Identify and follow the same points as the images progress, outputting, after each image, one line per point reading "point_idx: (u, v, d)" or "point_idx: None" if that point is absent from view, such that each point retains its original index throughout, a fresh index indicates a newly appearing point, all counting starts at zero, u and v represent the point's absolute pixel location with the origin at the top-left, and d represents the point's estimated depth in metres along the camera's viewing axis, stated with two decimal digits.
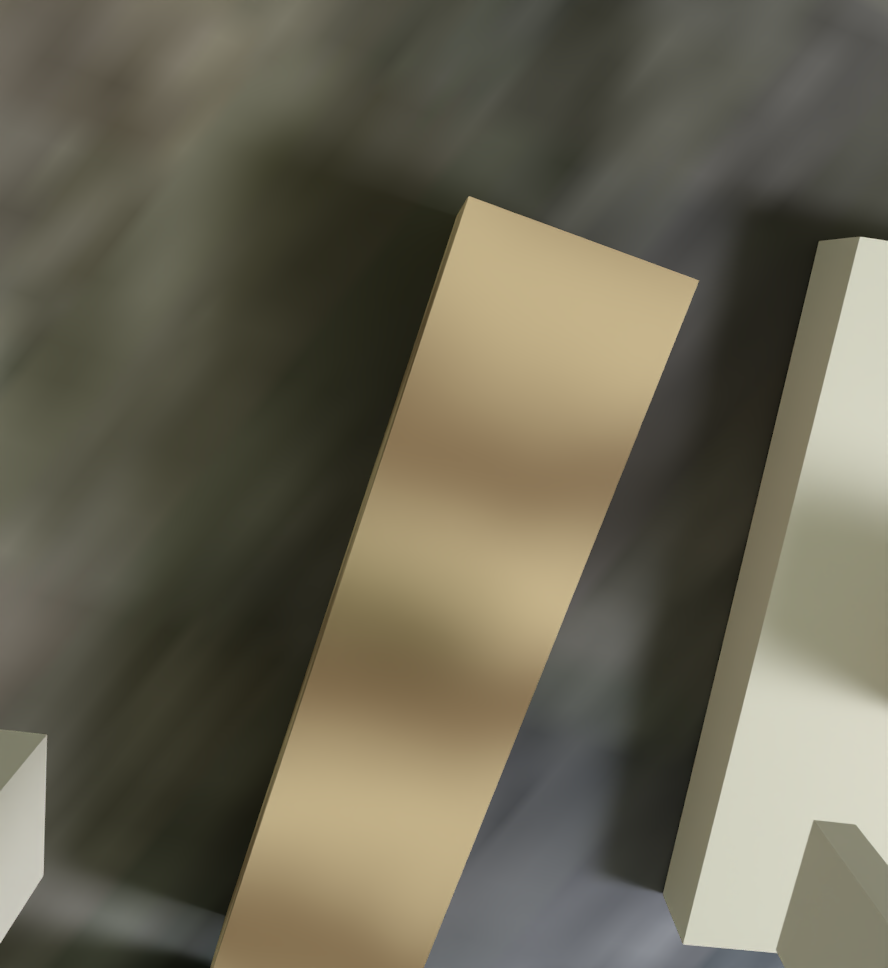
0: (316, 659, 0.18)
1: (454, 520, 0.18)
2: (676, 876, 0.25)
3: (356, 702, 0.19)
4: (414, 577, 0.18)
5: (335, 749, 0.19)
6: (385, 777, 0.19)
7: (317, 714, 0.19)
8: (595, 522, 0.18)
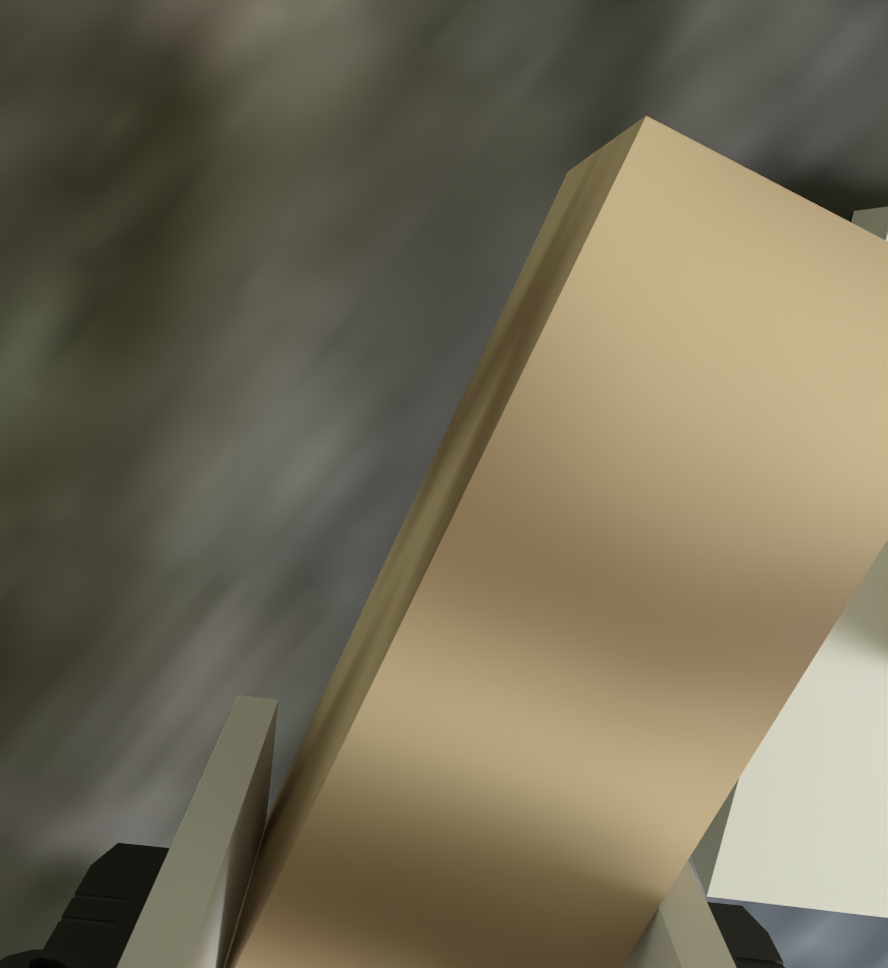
0: (283, 871, 0.11)
1: (541, 675, 0.10)
2: None
3: (341, 941, 0.11)
4: (460, 760, 0.11)
5: None
6: None
7: (276, 954, 0.11)
8: (775, 702, 0.11)
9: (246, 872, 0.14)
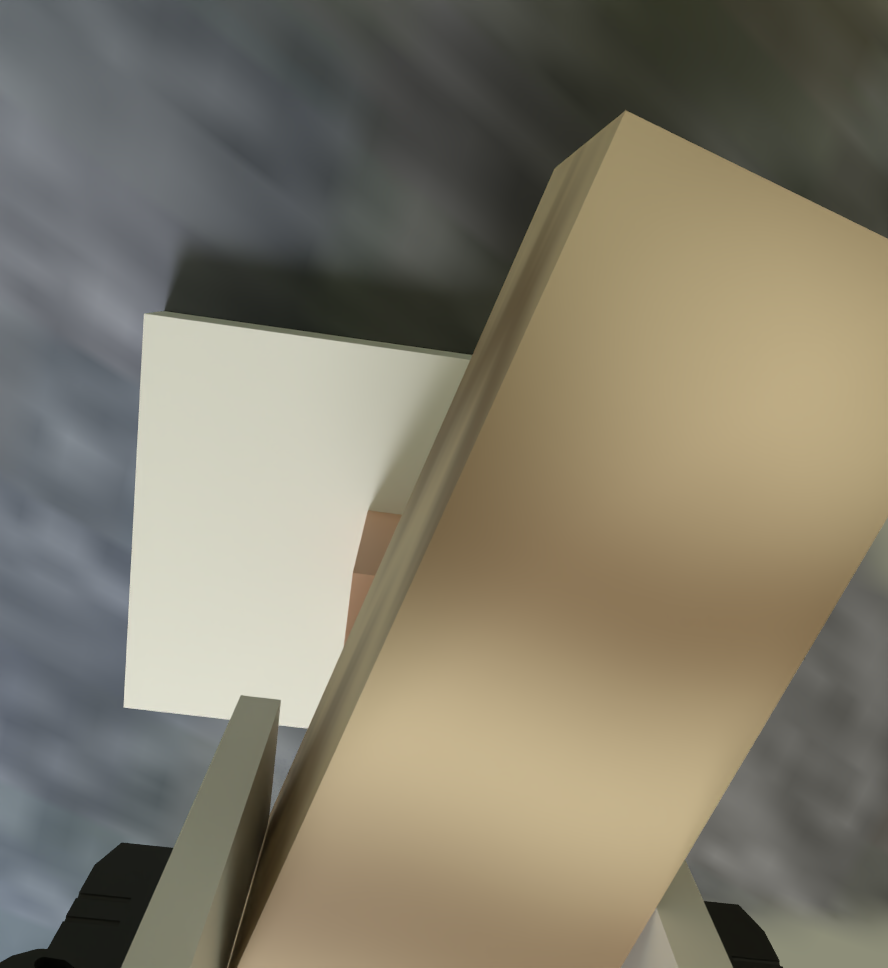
0: (280, 875, 0.11)
1: (533, 674, 0.10)
2: (192, 316, 0.27)
3: (340, 944, 0.11)
4: (455, 760, 0.11)
5: None
6: None
7: (276, 957, 0.11)
8: (770, 697, 0.10)
9: (249, 872, 0.14)
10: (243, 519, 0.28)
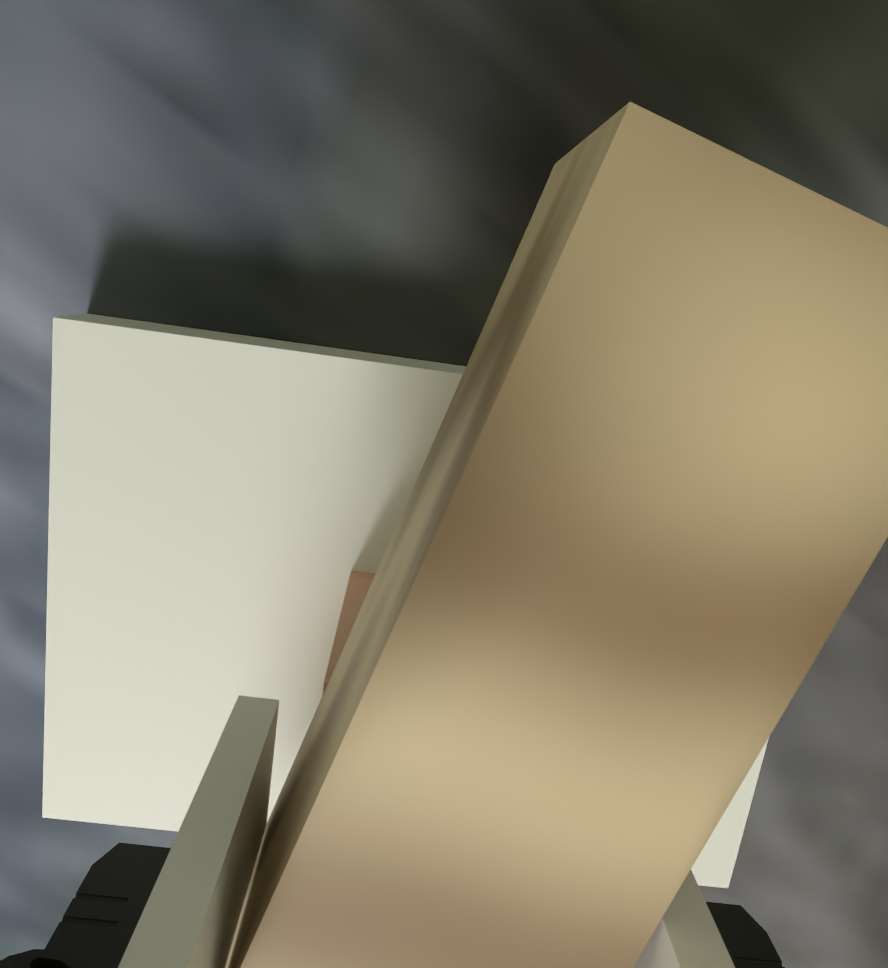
0: (278, 887, 0.11)
1: (537, 681, 0.10)
2: (122, 321, 0.21)
3: (339, 957, 0.11)
4: (456, 769, 0.10)
5: None
6: None
7: None
8: (779, 701, 0.10)
9: (247, 872, 0.14)
10: (190, 582, 0.21)
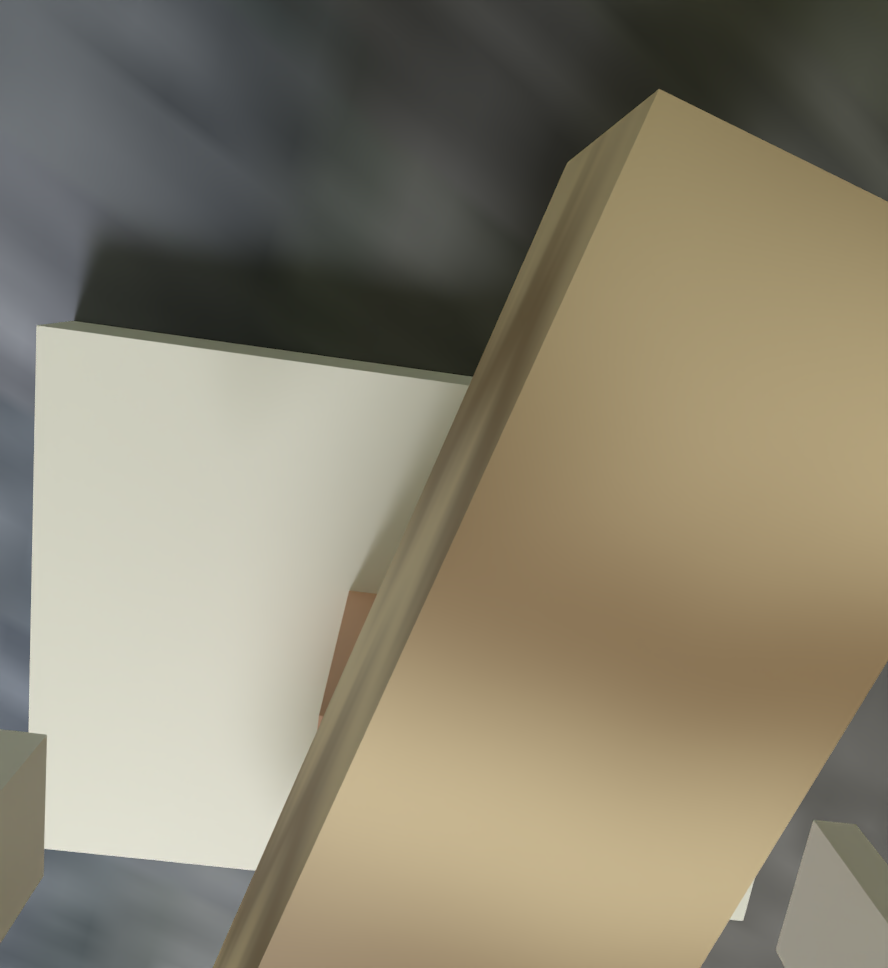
0: (266, 955, 0.10)
1: (551, 731, 0.09)
2: (110, 328, 0.20)
3: None
4: (462, 827, 0.09)
5: None
6: None
7: None
8: (817, 753, 0.09)
9: None
10: (180, 602, 0.20)
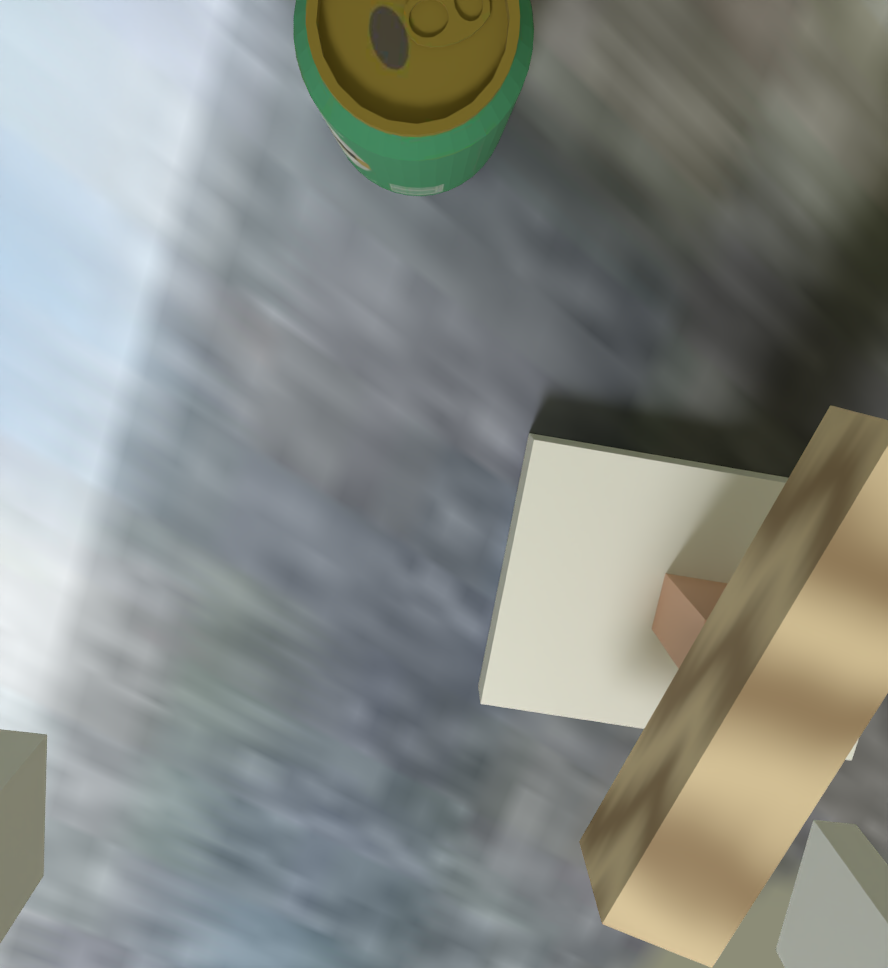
0: (748, 679, 0.30)
1: (850, 605, 0.29)
2: (553, 438, 0.40)
3: (765, 708, 0.30)
4: (818, 636, 0.30)
5: (746, 736, 0.30)
6: (771, 757, 0.31)
7: (741, 713, 0.30)
8: None
9: None
10: (580, 576, 0.40)
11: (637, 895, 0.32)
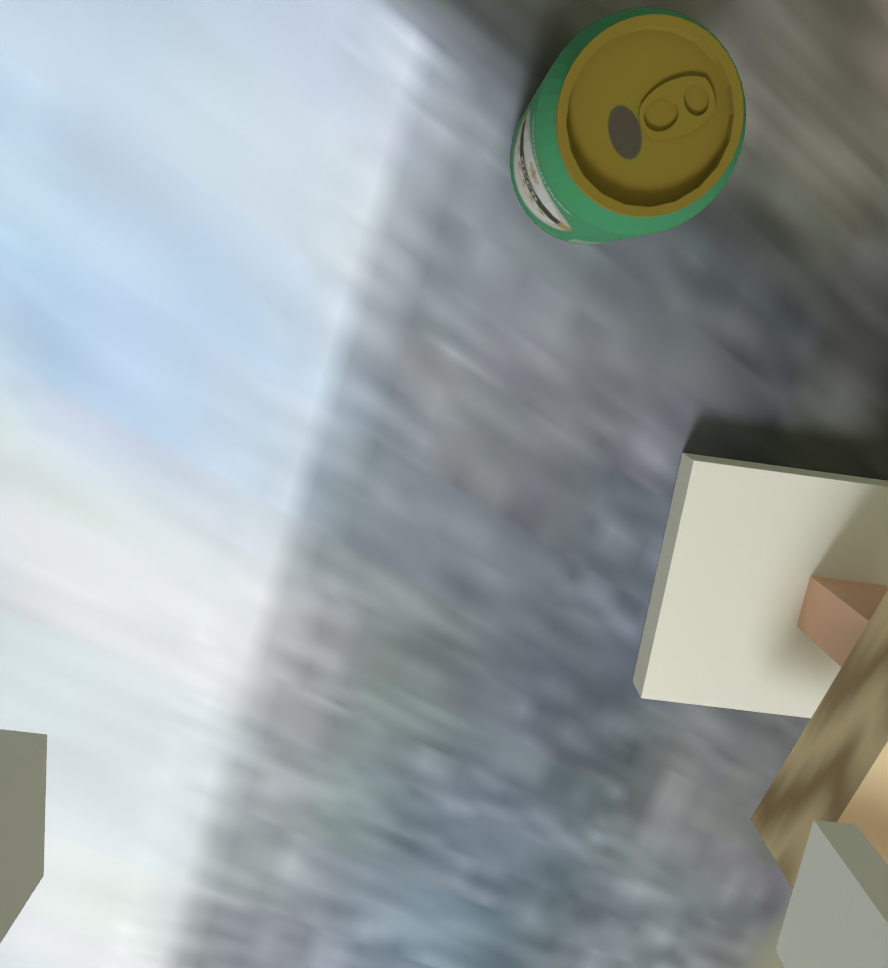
0: None
1: None
2: (706, 457, 0.44)
3: None
4: None
5: None
6: None
7: None
8: None
9: None
10: (733, 581, 0.45)
11: None
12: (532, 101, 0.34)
